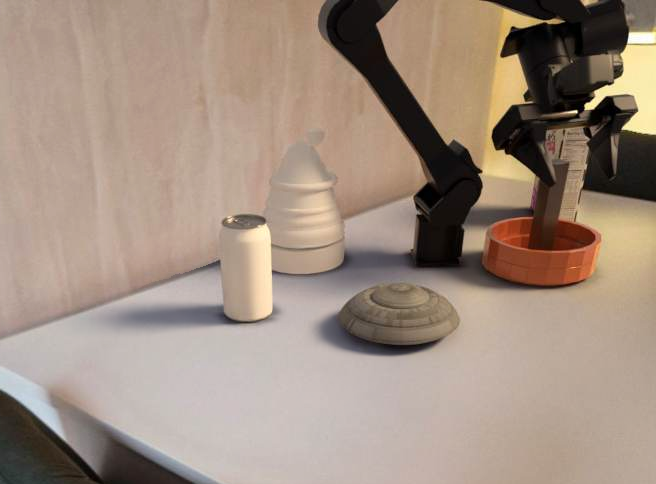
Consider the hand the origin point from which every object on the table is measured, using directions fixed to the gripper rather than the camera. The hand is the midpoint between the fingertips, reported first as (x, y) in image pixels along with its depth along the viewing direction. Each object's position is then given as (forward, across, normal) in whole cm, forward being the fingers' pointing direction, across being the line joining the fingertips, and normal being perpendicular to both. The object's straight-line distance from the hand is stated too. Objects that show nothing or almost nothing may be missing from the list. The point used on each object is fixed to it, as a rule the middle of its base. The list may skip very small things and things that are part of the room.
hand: (583, 181), depth 98 cm
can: (+4, -43, +16) cm, 46 cm away
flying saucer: (+13, -28, +7) cm, 31 cm away
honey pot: (-7, -29, +27) cm, 40 cm away
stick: (+5, 0, +14) cm, 14 cm away
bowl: (+5, 0, +14) cm, 15 cm away
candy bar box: (-8, +17, +27) cm, 33 cm away
